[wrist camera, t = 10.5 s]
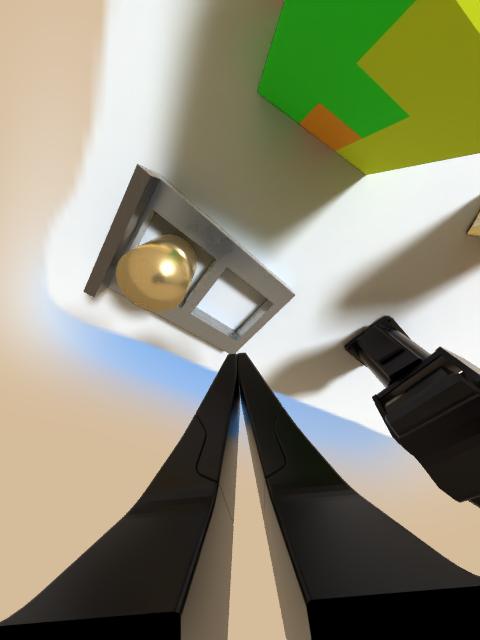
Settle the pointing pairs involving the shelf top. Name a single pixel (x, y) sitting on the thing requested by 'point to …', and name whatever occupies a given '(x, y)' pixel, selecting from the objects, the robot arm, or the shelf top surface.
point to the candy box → (475, 227)
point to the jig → (162, 198)
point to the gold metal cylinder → (157, 273)
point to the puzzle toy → (380, 78)
